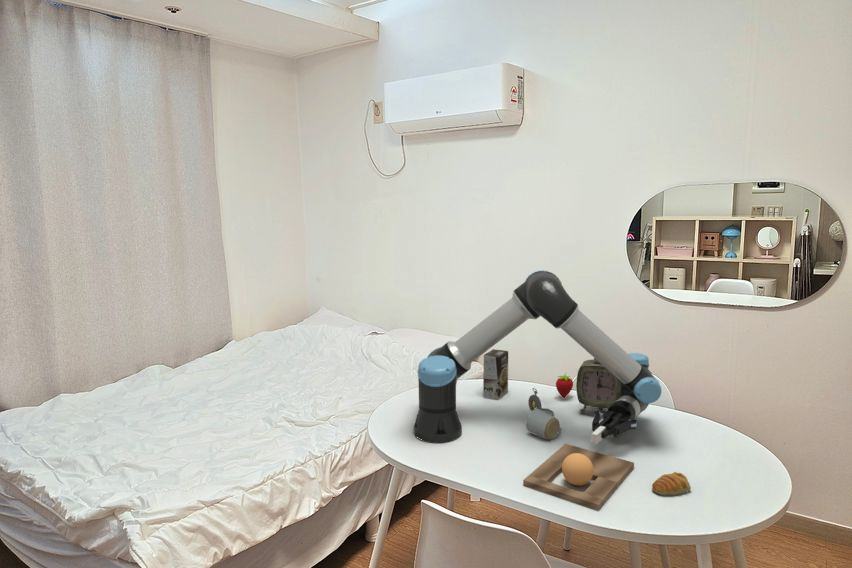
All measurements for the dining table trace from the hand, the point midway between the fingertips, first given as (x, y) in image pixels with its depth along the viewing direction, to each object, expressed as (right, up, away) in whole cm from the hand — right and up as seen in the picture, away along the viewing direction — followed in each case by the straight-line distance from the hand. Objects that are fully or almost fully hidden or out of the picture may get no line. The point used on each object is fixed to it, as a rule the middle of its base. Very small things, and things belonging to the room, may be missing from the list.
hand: (594, 438), depth 160 cm
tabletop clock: (+12, -1, +36) cm, 38 cm away
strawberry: (+3, +1, +49) cm, 50 cm away
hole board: (-5, -8, -6) cm, 12 cm away
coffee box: (-21, +2, +54) cm, 58 cm away
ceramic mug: (-9, -4, +20) cm, 22 cm away
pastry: (+16, -10, -13) cm, 23 cm away
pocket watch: (-8, -2, +35) cm, 35 cm away
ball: (-7, -5, -10) cm, 14 cm away
